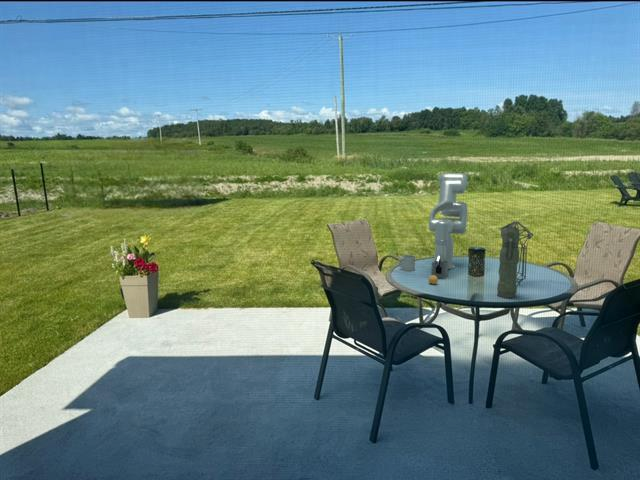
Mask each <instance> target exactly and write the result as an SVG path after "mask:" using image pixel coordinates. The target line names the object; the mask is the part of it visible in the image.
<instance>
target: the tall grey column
mask: <svg viewBox="0 0 640 480" xmlns="http://www.w3.org/2000/svg"><path fill="white" fill-rule="evenodd" d="M519 230H520V229H519ZM519 230H518V228H517V226H516V227H514V226H512V227H505V228H504V231H503V238H502V237H501V239H502V245H501V248H500V251H499V266H500V275H499V274H498V275H499V277H498V278H499V279H498V283H497V288H496V290H497V293H496V294H497V295H496V296H498V297H499V298H502V299H515V298H516V297H517V290H518V289H517V288H518V284H517V282H516V281H517V279H516V276H517V277H518V275H517V274H518V273H517V272H518V265H519V263H520V247H519V245H520V244H519V243H520V241H519V238H520V236H519V235H521V234H519V233H520V231H519ZM518 247H519V248H518Z"/></svg>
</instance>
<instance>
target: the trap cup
mask: <svg viewBox="0 0 640 480" xmlns="http://www.w3.org/2000/svg"><path fill="white" fill-rule="evenodd" d="M436 262H437V261H436ZM436 262H434V260H433V261H432V263H431V275H430V276H432V275H435V276H436V277H437V278H438V279H441V280H442V279H443V280H445V279H446V278H447V277H448V270H449V269H448V261H444V262H442V264H441V267H442V269H441V274H438V273H436ZM440 262H441V261H440Z"/></svg>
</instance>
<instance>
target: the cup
mask: <svg viewBox="0 0 640 480" xmlns="http://www.w3.org/2000/svg"><path fill="white" fill-rule="evenodd" d="M398 266H399V268H402V271H405V272H415V267H416V255H414V254H413V255H412V254H404V255H403V256H402V257H400V258H399V259H398Z"/></svg>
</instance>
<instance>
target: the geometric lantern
mask: <svg viewBox="0 0 640 480" xmlns="http://www.w3.org/2000/svg"><path fill="white" fill-rule="evenodd" d="M519 226H520V227H521V228H522V229H519ZM505 227H517V228H518V230H519V234H520V235H519V244H518V245H521V247H518V249H520V253H519V263H518V270H517V276H516V283H517V282H518V283H517V286H518V285H519V286H521V282H523V281H524V280H526V279H527V255H528V254H527V249H528V248H527V247H528V245H529V241H530V239H531V238H532V237H533V236H534V234H533V232H531V231H530V229H529V228H527V227H526V226H524V225H523V224H522V223H521V222H520V221H512V222H511V223H508V224H506V225H504V226H502V227H500V228H499V230H500V237H501V239H502V238H503V231H504V229H505ZM520 231H521V232H520ZM524 232H527V234H523V233H524ZM520 236H521V238H520ZM525 238H526V239H525ZM523 239H525V241H524V242H523V241H522V240H523ZM525 244H526V245H525ZM521 260H522V261H521ZM520 271H521V272H520ZM498 275H500V265H499V267H498ZM518 275H519V276H518ZM520 277H521V278H520Z"/></svg>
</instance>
